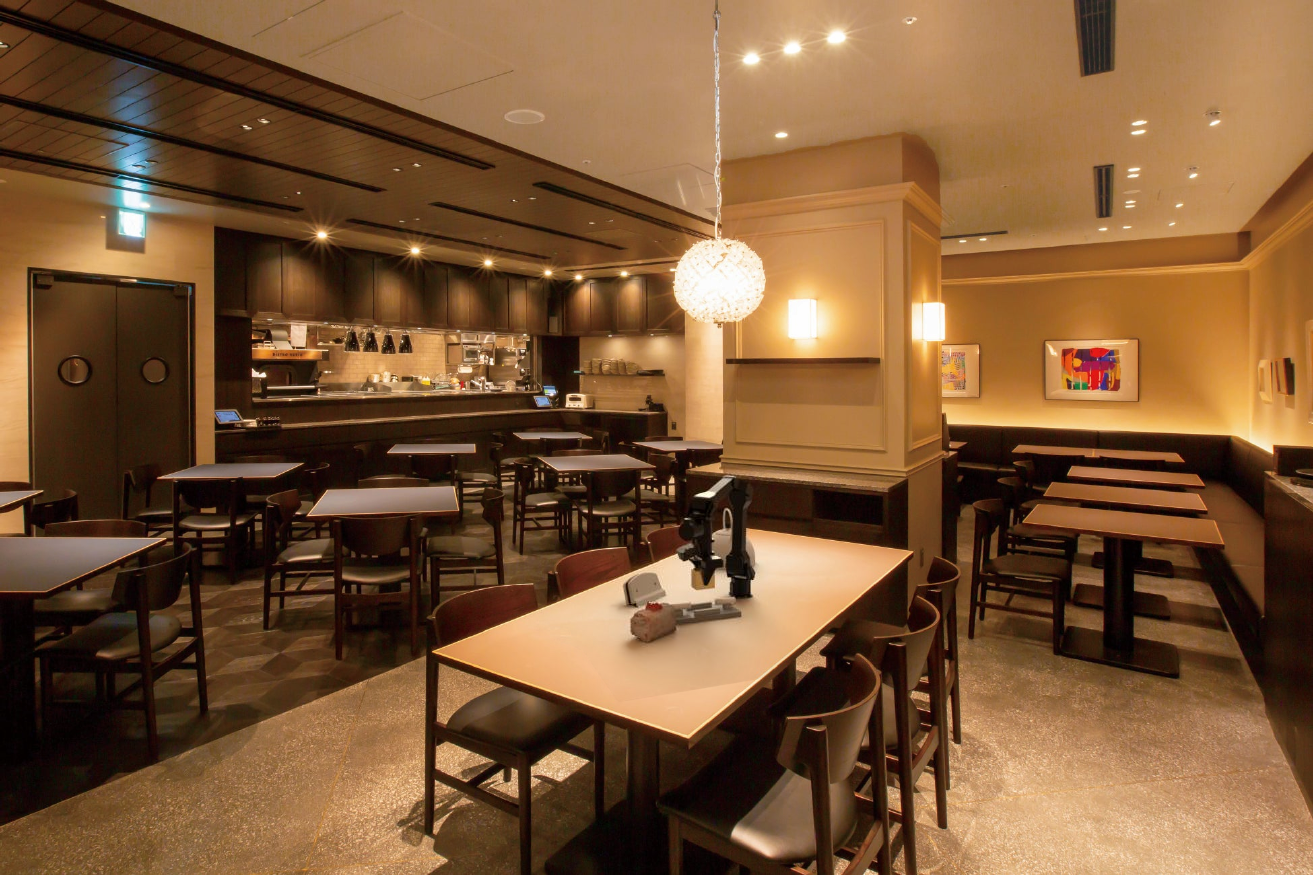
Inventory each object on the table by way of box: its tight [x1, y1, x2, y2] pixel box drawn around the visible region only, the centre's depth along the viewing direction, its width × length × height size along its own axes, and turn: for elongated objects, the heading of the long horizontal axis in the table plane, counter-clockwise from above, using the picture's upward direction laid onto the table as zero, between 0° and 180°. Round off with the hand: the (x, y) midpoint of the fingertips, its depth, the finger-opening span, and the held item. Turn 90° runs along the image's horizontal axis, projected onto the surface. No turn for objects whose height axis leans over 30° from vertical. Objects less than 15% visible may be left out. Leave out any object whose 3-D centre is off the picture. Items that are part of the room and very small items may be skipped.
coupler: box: [690, 567, 716, 591], centre depth 223 cm, size 6×4×6 cm, turn 110°
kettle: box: [712, 507, 756, 570], centre depth 291 cm, size 25×23×22 cm
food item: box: [629, 602, 677, 643], centre depth 206 cm, size 14×8×10 cm, turn 139°
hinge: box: [622, 572, 667, 607], centre depth 241 cm, size 17×5×10 cm, turn 143°
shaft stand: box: [669, 596, 742, 625], centre depth 224 cm, size 22×10×5 cm, turn 110°
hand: (703, 583), depth 223 cm, fingers closed on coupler, 4 cm apart
